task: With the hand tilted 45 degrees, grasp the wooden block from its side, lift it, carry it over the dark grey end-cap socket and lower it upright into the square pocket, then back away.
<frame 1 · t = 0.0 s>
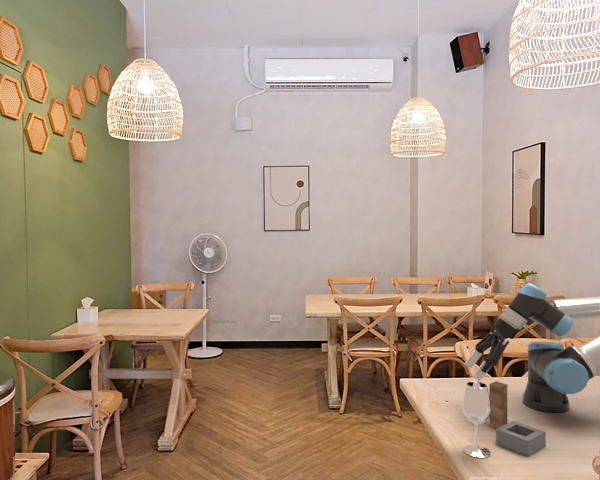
hand: (471, 372, 162), 15 cm above the table, tool tilted 35°, fingers open, 13 cm apart
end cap: (520, 445, 140), on the table
wooden block: (498, 426, 154), on the table
wineglass: (476, 452, 136), on the table
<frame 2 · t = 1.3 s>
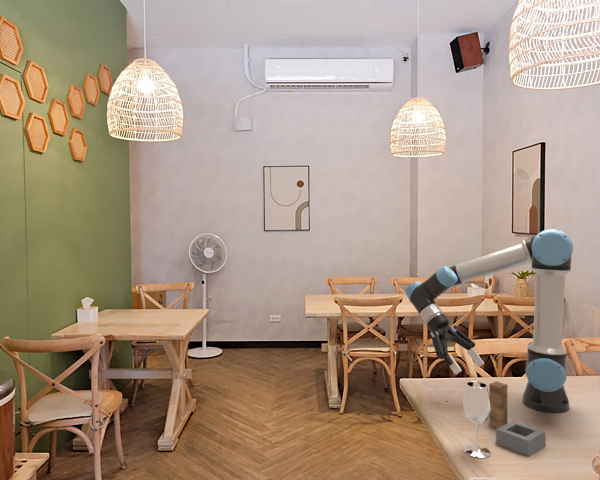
hand: (470, 369, 161), 16 cm above the table, tool tilted 45°, fingers open, 13 cm apart
nothing on the table moved.
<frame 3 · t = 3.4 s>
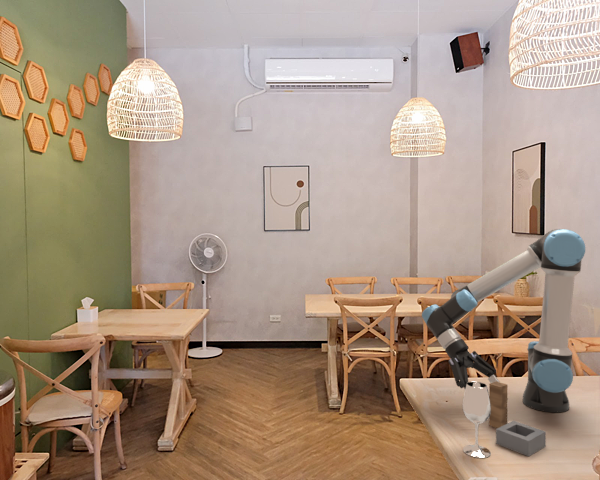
hand: (491, 398, 154), 9 cm above the table, tool tilted 45°, fingers open, 13 cm apart
nothing on the table moved.
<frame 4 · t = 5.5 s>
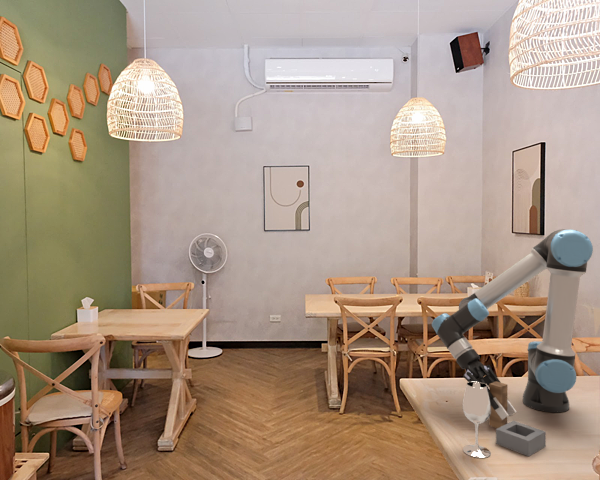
hand: (509, 415, 150), 5 cm above the table, tool tilted 45°, fingers closed on wooden block, 4 cm apart
wooden block: (498, 426, 154), on the table, touching gripper
everything else where it was.
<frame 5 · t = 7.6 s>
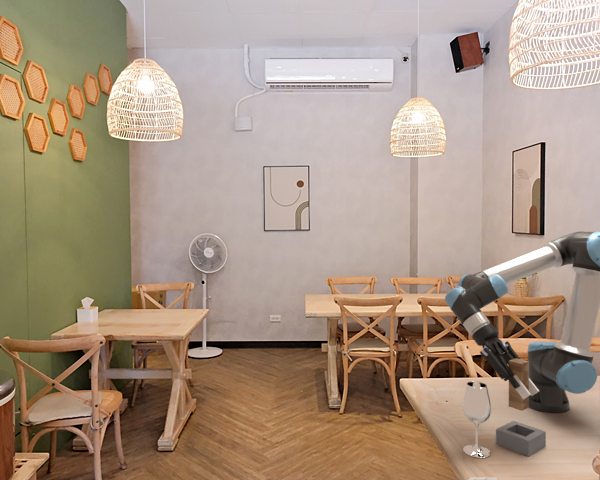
hand: (531, 395, 137), 16 cm above the table, tool tilted 45°, fingers closed on wooden block, 4 cm apart
wooden block: (518, 406, 140), point 11 cm above the table, touching gripper
everything else where it was.
when the fingers open (7 cm above the table, at t = 10.1 s): wooden block stays where it is, resting on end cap.
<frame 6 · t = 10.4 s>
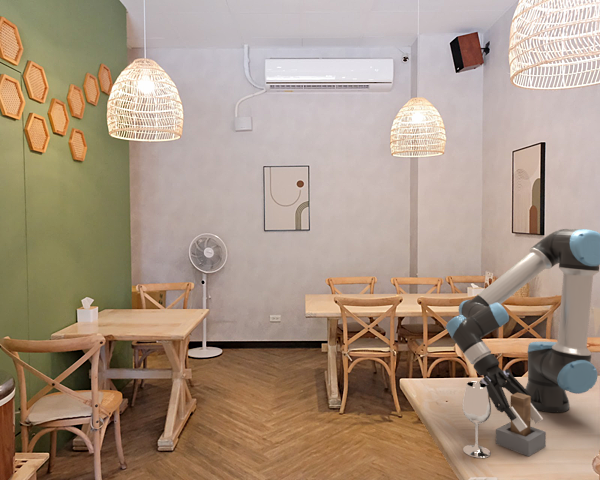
hand: (531, 425, 137), 7 cm above the table, tool tilted 45°, fingers open, 8 cm apart
wooden block: (520, 441, 140), point 1 cm above the table, touching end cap
everything else where it was.
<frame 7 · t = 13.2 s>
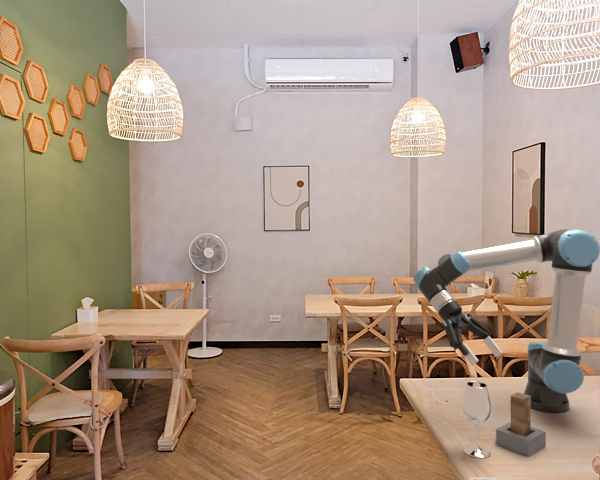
hand: (487, 359, 148), 24 cm above the table, tool tilted 45°, fingers open, 13 cm apart
nothing on the table moved.
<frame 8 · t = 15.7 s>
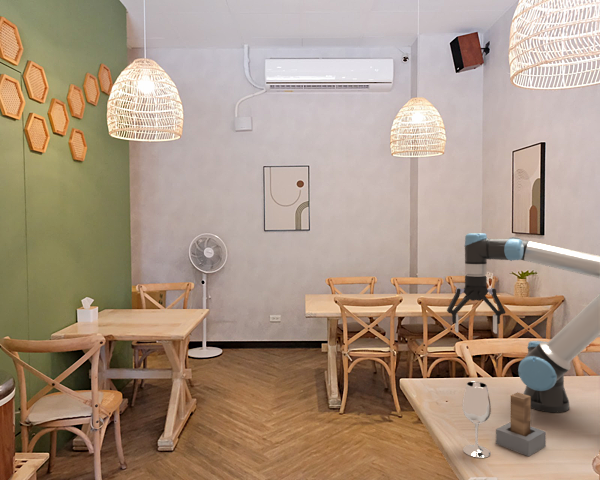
hand: (475, 332, 172), 27 cm above the table, tool pointing down, fingers open, 13 cm apart
nothing on the table moved.
at the end: wooden block 0.1 cm off-centre on the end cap, point 1.0 cm above the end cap's base; wooden block tilted 0°; the gripper is holding nothing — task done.
